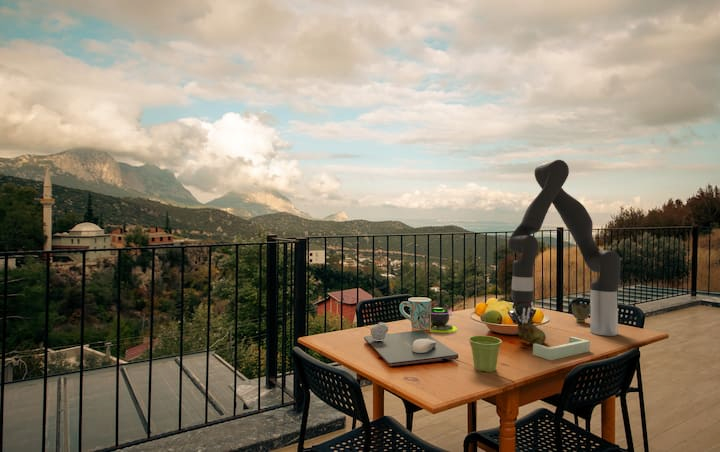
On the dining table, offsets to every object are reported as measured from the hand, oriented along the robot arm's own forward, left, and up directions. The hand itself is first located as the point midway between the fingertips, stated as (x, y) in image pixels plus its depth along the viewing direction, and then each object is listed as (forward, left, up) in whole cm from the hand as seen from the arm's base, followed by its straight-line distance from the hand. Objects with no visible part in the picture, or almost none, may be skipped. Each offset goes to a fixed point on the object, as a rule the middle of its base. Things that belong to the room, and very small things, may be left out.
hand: (521, 335), depth 150 cm
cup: (-49, -9, -2) cm, 49 cm away
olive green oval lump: (0, +5, -2) cm, 5 cm away
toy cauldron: (+15, -30, -3) cm, 33 cm away
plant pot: (+34, +15, -2) cm, 38 cm away
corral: (0, +16, -2) cm, 16 cm away
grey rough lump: (+47, -24, -2) cm, 53 cm away
